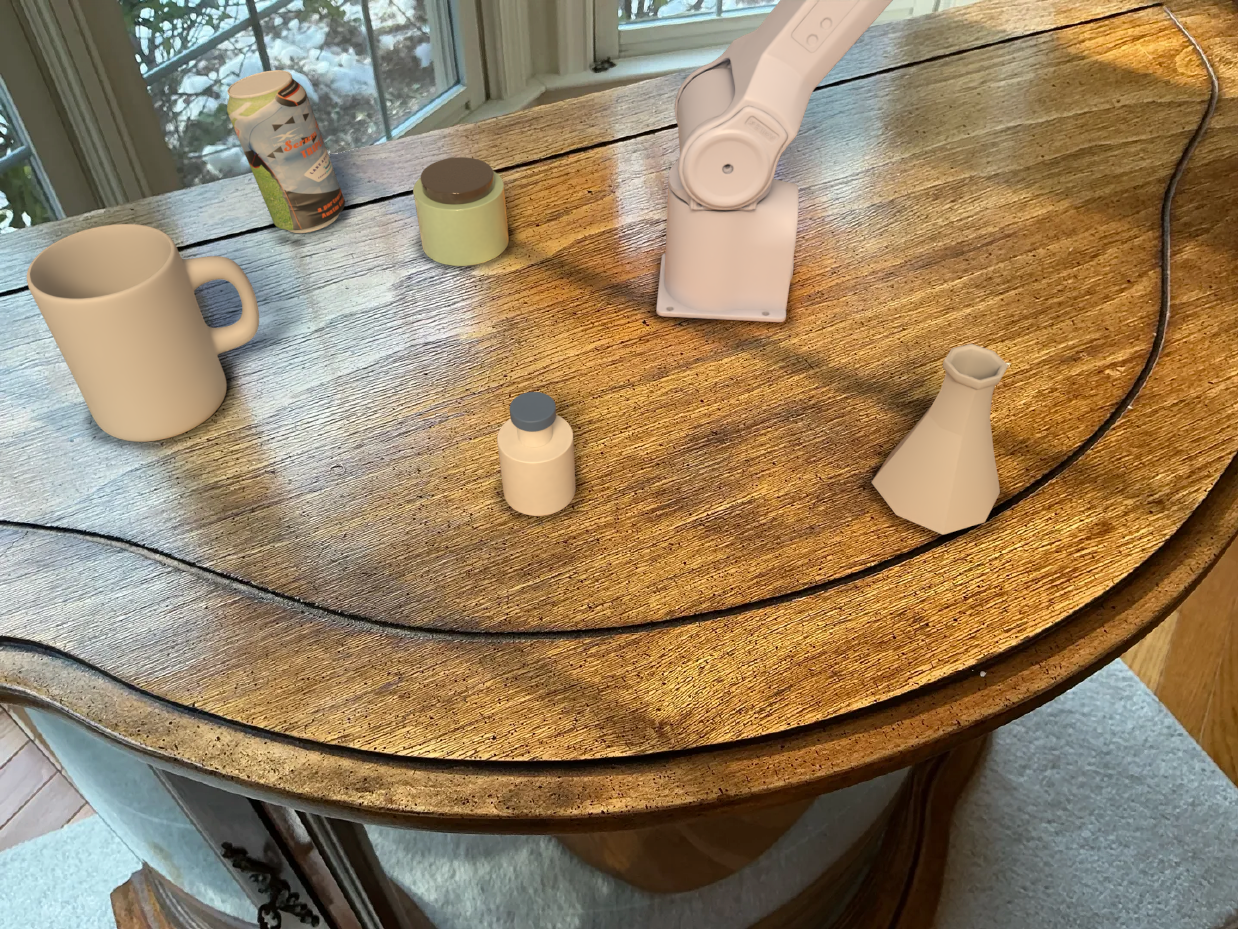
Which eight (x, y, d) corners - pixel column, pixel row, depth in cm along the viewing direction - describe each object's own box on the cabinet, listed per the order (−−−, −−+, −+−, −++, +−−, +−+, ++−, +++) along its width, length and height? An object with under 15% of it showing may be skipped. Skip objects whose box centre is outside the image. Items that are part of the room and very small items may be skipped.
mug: (103, 460, 62) (29, 318, 54) (87, 382, 67) (17, 243, 60) (293, 401, 66) (249, 261, 58) (263, 333, 71) (219, 196, 64)
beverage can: (331, 246, 79) (296, 102, 71) (246, 236, 80) (202, 93, 72) (360, 206, 84) (331, 66, 75) (280, 197, 85) (242, 58, 76)
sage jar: (515, 221, 82) (509, 154, 78) (500, 268, 77) (493, 199, 73) (432, 217, 83) (422, 150, 78) (413, 264, 78) (401, 195, 73)
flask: (925, 433, 64) (963, 306, 57) (1020, 497, 60) (1074, 369, 53) (849, 483, 60) (879, 355, 53) (944, 554, 56) (990, 426, 49)
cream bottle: (579, 466, 62) (576, 383, 57) (571, 518, 58) (566, 435, 54) (510, 462, 62) (500, 378, 57) (497, 513, 59) (486, 430, 54)
